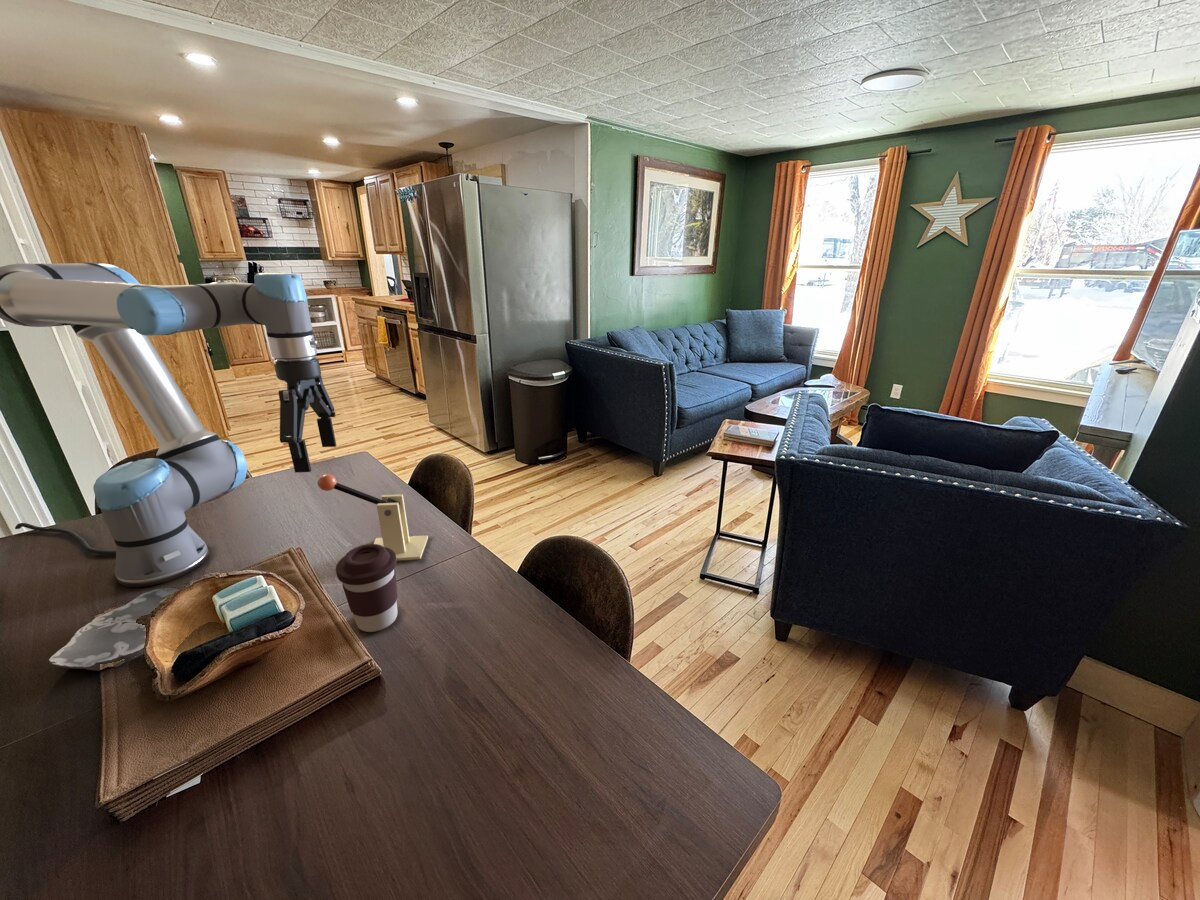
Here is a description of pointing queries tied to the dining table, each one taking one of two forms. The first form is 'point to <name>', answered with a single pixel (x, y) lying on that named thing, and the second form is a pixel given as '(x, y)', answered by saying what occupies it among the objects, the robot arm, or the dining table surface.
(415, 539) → the bracket
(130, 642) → the grey stone slab
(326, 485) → the lever
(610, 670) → the dining table surface
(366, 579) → the coffee cup
